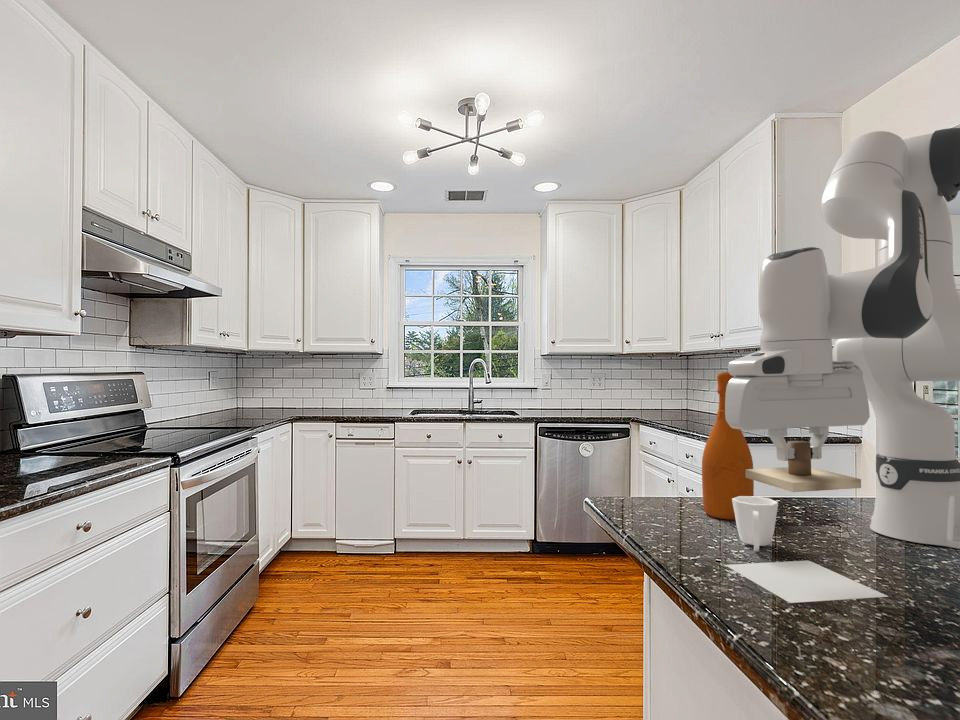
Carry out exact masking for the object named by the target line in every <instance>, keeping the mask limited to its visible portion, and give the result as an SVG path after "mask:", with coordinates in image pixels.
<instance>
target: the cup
mask: <svg viewBox="0 0 960 720" xmlns="http://www.w3.org/2000/svg"><path fill="white" fill-rule="evenodd" d="M732 502H733V508H734V513H735V519H736V520H735V524H736V530H737V533H738V535H739V539H740V541H741V542H743V543H745V544H747V545H751V546H753V552H755V553H760V546H761V547H767V546H769V545H771V543H772V540H773V537H774V532H775V526H776V521H777V513H778V508H779V502H778V501H776V500H773V499H771V498H768V497H761V496H738V497H735V498H733V499H732Z"/></svg>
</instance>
